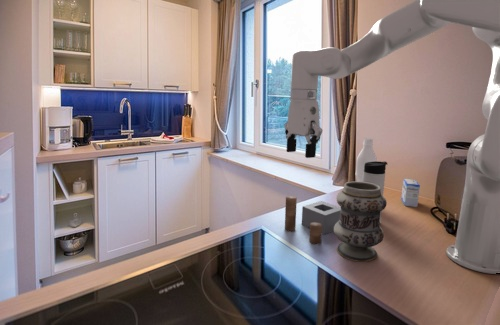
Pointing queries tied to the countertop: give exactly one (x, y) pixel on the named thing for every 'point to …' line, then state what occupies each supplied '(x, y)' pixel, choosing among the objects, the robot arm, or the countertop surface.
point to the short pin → (315, 233)
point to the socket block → (321, 215)
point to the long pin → (290, 213)
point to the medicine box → (410, 192)
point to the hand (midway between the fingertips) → (300, 154)
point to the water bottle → (364, 158)
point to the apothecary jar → (359, 220)
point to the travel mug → (375, 174)
